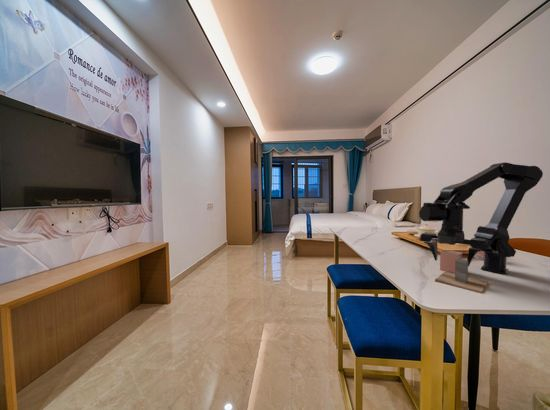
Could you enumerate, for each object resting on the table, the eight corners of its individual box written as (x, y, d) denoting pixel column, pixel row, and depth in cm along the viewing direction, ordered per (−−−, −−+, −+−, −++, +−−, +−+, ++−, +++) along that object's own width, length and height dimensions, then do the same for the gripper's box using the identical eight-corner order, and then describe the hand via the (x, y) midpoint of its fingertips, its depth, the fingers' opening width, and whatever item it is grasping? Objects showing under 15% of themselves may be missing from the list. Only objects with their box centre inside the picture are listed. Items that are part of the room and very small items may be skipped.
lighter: (492, 261, 88) (493, 237, 88) (482, 260, 89) (483, 237, 88) (478, 255, 96) (478, 234, 96) (469, 255, 97) (470, 233, 96)
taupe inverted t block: (444, 273, 75) (445, 253, 75) (488, 283, 67) (489, 261, 66) (434, 281, 69) (435, 259, 68) (481, 293, 60) (482, 268, 60)
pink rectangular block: (444, 266, 82) (444, 249, 82) (461, 270, 78) (462, 252, 78) (439, 269, 79) (440, 252, 78) (458, 273, 75) (458, 255, 74)
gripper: (415, 220, 80) (414, 261, 81) (483, 226, 65) (482, 276, 66) (425, 218, 87) (424, 256, 87) (490, 222, 72) (488, 268, 73)
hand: (451, 263), depth 78 cm, fingers open, 9 cm apart
